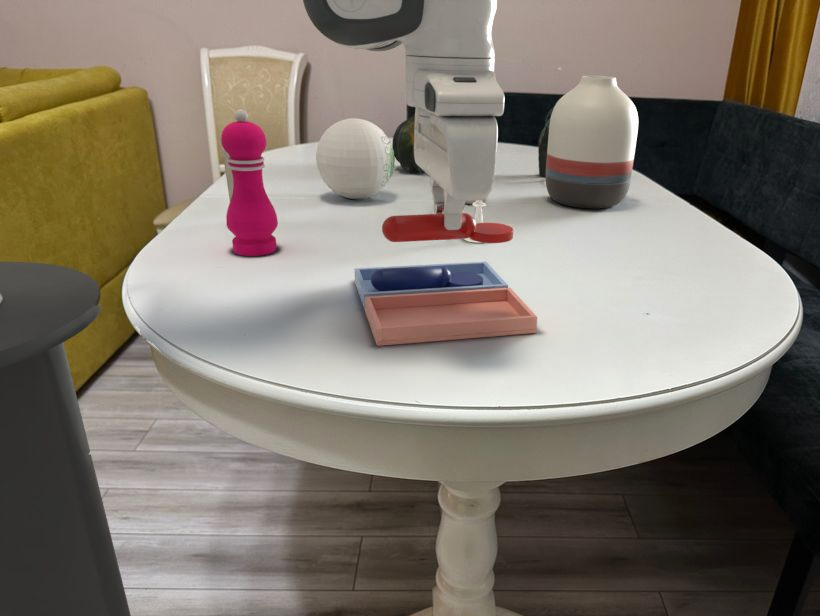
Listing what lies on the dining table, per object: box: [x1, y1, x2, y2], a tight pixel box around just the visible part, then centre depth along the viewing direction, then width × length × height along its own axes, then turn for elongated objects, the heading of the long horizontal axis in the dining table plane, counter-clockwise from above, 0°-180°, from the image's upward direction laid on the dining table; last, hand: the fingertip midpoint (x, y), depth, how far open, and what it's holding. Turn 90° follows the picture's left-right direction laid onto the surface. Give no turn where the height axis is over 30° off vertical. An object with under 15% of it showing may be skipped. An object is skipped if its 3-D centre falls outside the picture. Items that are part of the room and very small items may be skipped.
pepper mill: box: [220, 108, 279, 257], centre depth 97 cm, size 7×7×20 cm
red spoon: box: [381, 212, 514, 244], centre depth 74 cm, size 15×5×3 cm, turn 105°
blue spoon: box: [371, 266, 483, 291], centre depth 87 cm, size 15×5×3 cm, turn 105°
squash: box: [391, 114, 425, 173], centre depth 159 cm, size 14×15×15 cm
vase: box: [545, 75, 639, 210], centre depth 132 cm, size 17×17×24 cm
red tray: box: [364, 287, 538, 347], centre depth 78 cm, size 18×10×2 cm, turn 105°
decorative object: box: [315, 117, 396, 200], centre depth 130 cm, size 15×15×15 cm
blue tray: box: [353, 261, 509, 311], centre depth 87 cm, size 18×10×2 cm, turn 105°
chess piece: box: [463, 200, 487, 244], centre depth 108 cm, size 5×5×10 cm
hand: (447, 223), depth 74 cm, fingers closed on red spoon, 3 cm apart
